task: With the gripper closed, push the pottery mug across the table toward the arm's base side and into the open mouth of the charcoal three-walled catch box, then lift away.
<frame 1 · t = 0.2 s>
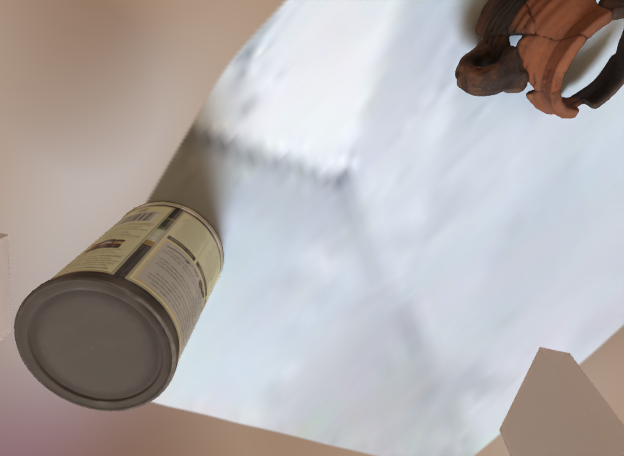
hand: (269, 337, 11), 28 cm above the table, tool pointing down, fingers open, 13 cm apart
coffee can: (170, 252, 42), on the table
pottery mug: (521, 48, 34), on the table
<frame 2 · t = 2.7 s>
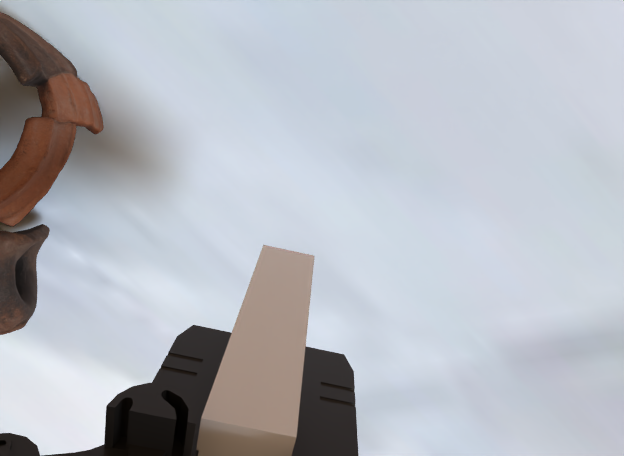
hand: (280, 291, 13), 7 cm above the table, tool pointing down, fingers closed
pottery mug: (16, 154, 20), on the table
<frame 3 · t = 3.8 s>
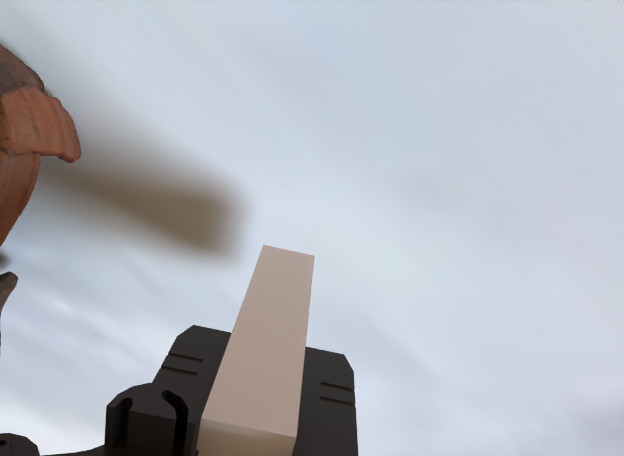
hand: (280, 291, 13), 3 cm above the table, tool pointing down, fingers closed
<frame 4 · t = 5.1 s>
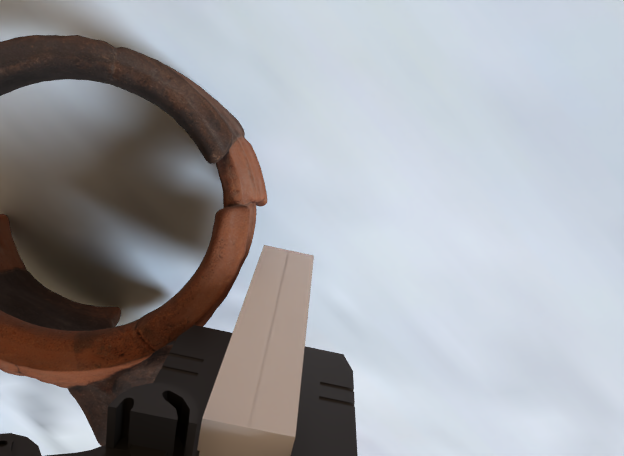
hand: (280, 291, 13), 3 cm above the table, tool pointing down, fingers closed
pottery mug: (146, 226, 16), on the table, touching gripper
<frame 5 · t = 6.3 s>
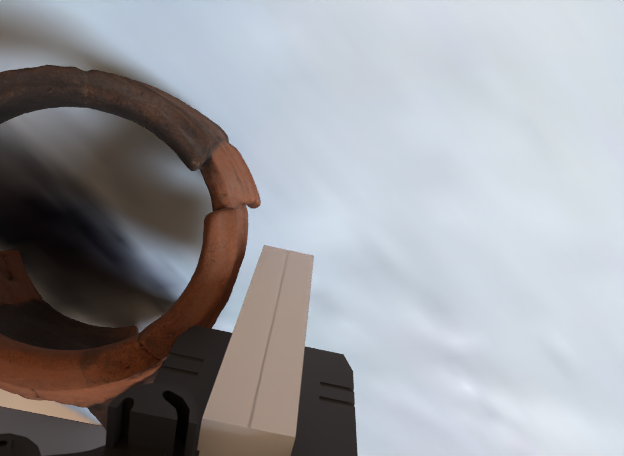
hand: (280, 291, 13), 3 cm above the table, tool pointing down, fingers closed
pottery mug: (150, 243, 16), on the table, touching gripper
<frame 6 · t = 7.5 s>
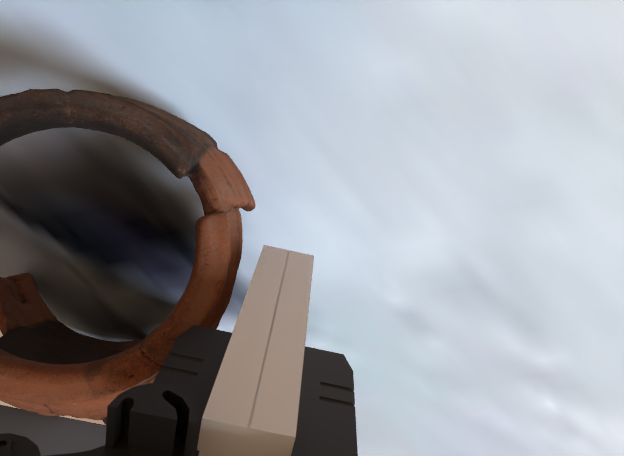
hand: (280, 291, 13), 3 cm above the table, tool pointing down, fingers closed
catch box: (88, 207, 16), on the table
pottery mug: (154, 255, 17), on the table, touching gripper
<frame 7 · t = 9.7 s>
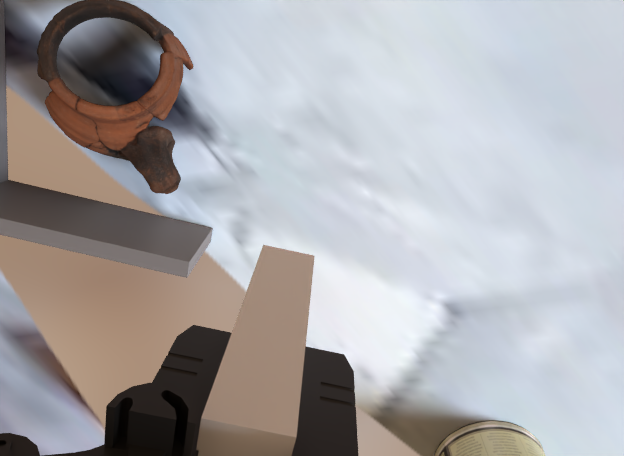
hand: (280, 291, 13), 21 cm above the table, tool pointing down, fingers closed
catch box: (120, 71, 31), on the table
pottery mug: (145, 101, 32), on the table
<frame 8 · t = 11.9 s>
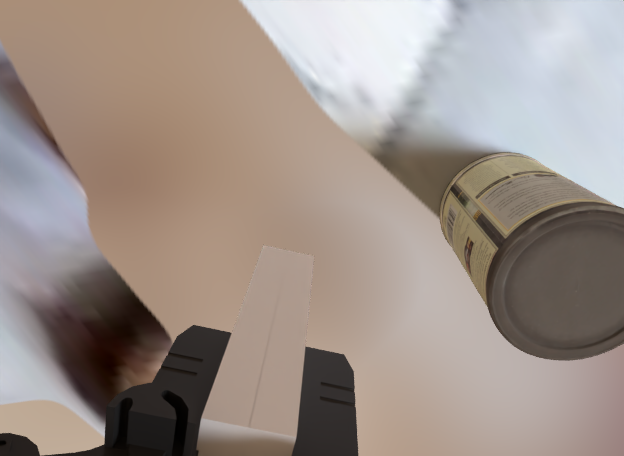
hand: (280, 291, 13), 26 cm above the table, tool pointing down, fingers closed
coffee can: (498, 208, 40), on the table
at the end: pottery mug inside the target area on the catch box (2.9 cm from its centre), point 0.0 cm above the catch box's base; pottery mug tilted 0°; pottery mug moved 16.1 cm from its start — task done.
